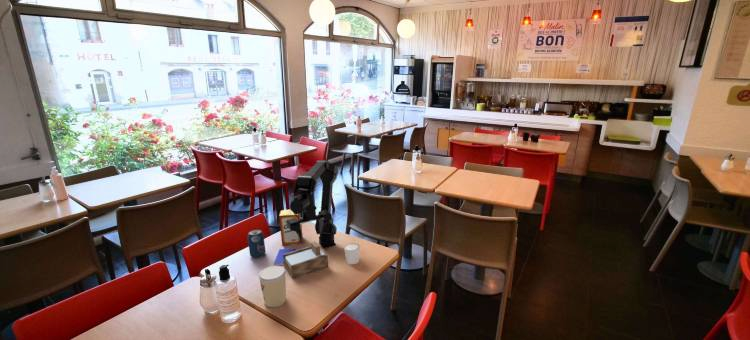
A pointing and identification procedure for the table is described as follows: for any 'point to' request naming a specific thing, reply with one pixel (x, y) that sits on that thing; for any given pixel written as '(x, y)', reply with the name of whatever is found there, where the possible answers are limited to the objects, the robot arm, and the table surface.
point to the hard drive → (280, 256)
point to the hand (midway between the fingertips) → (311, 237)
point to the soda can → (256, 243)
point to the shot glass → (352, 253)
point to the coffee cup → (273, 285)
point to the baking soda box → (286, 234)
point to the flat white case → (305, 254)
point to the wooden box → (305, 264)
